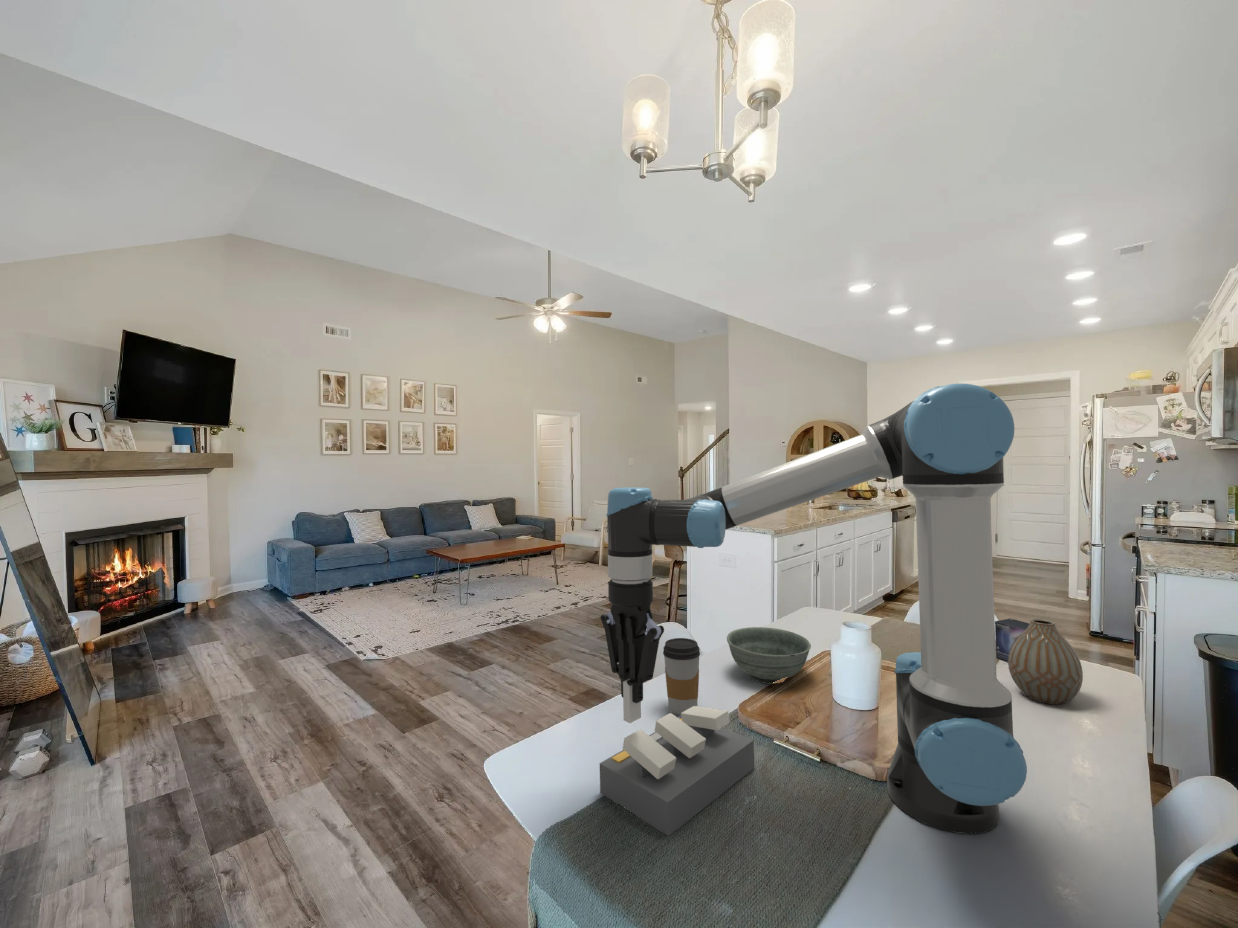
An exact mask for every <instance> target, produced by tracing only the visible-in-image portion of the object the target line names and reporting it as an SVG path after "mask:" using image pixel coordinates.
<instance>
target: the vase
mask: <svg viewBox="0 0 1238 928" xmlns="http://www.w3.org/2000/svg"><path fill="white" fill-rule="evenodd" d="M1029 621H1030V622H1029V626H1028V627H1027V629H1026V630H1024V631H1023V632H1022V633H1021V634H1020V635H1019V636H1018V637H1017V638H1016V640H1015V641H1014V642H1013V644H1012V646H1011V648H1010V651H1009V656H1008V662H1007V664H1008V671H1009V674H1010V677H1011V679H1012V680H1013V683H1014V684H1015V685H1016V686H1017V687H1018V689H1019V690H1020V691H1021V692H1022V693H1024V694H1025V696H1027V697H1028V698H1029V699H1031V700H1033V701H1037V702H1039V703H1042V704H1046V705H1048V704H1049V705H1056V706H1057V705H1063V704H1065V703H1067V702H1070V701H1071V700H1072V699H1074V698H1075V697H1076V696H1077V695H1078V694H1079V692H1080V690H1081V688H1082V686H1083V680H1084V679H1083V678H1084V674H1083V673H1084V672H1083V666H1082V662H1081V660H1080V658H1079V655H1078V653H1077V652H1076V651H1075V649H1074V648H1073V646H1072V645H1071V644H1070V643H1069V641H1068V640H1067V639H1066V638H1065V637H1064V636H1063V635H1062V634H1061V633H1060V631H1059V630H1058V628H1057V626H1056V623H1055V621H1052V620H1049V619H1043V618H1031V619H1030V620H1029Z"/></svg>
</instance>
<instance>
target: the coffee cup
mask: <svg viewBox="0 0 1238 928" xmlns="http://www.w3.org/2000/svg"><path fill="white" fill-rule="evenodd" d="M698 645H699V644H698V642H697V641H696V640H695V639H692V638H685V637H675V638H670V639H668V640H666V641H665V642H664V646H663V653H662V655H663V656H664V672H665V673H664V675H665V683H666V694H667V700H668V701H667V702H668V709H669V710H670V713H672V714H673V715H674V716H679V717H681V713H682V712H684V711H686V710H688V709H689V708H691V707H693V706H698V702H699V701H698V699H699V687H700V685H699V684H700V683H699V682H700V655H701V651H700V649H701V648H700V647H699V646H698Z"/></svg>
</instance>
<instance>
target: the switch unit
mask: <svg viewBox="0 0 1238 928" xmlns="http://www.w3.org/2000/svg"><path fill="white" fill-rule="evenodd" d="M678 719H680V720H681V721H682V717H681V716H680V717H678ZM688 726H689V727H691V728H692V729H693V730H695V731H696V732H697V733H699V734H700V735H702V736H703V737H704V738H706V741H705V746H704V749H703V750H702V751H700V752H699V753H697V754H696V755H694V756H693V757H691V758H688V757H687V756H686V755H684V754H683V753H682V752H681V751H679V750H678V749H677V748H676V747H674V746H673V745H672V744H670V743H669V742H668V741H667V740H665V739H664V738H663V737H662V736H660V735H659V734H658V733H657V732H655V731H654V732H653V733H650V734H648V735H649V736H650V737H651V738H652V739H654V740H655V741H656V742H657V743H659V744H660V745H661V746H662V747H664V748H665V749H666V750H667V751H669V752H670V753H671V754H672V755H674V756H675V757H676V762H675V768H674V769H673V770H672V771H670V772H669V773H667V774H666V775H664V776H663V777H661V778H660V779H657V778H656V777H654V776H653V775H652V774H651V773H650V772H649V771H648V770H646V769H645V768H644V767H643V766H642V765H641V764H639V763H638V762H637V761H636V760H635V759H634V758H633V757H631V756H630V755H629V754H628V753H627V752H626V751H625V750H623V749H622V750H620V751H619V752H617V753H615V754H614V755H611V756H610V757H608V758H607V759H605V760H603V761H601V762H599V789H600V790H599V794H601V795H603V796H604V797H606V798H607V799H609V800H610V799H611V801H612V802H614V801H615V802H614V803H615V804H617V805H618V804H620V805H621V806H623V807H625V808H626V809H628V810H629V811H631V812H632V813H633V815H634V814H635V815H634V816H636V817H637V818H639V819H640V818H641V820H642V821H644V822H645V823H647V824H648V825H650V826H651V827H653V828H655V829H656V830H658V831H659V832H661V833H662V834H664V835H666V836H667V837H669V836H671V835H672V834H673V833H675V832H676V831H678V829H680V828H682V826H683V825H685V824H687V822H689V821H690V820H691V819H692V818H694V817H695V816H696V815H697V814H698V813H700V812H701V811H702V810H703V809H705V808H706V807H708V806H709V805H710V804H711V803H713V802H714V801H715V800H716V799H718V798H719V797H720V796H721V795H722V794H724V793H725V792H727V791H728V790H729V789H730V788H731V787H732V786H734V785H735V784H736V783H737V782H739V781H740V780H741V779H742V778H744V777H745V776H746V775H748V774H750V772H751V771H752V770H754V769H755V746H754V745H755V744H754V743H755V741H754V739H752V738H749V737H746V736H744V735H742V734H740V733H737V732H734V731H732V730H729V729H727V728H725V727H722V728H720V729H719V730H712V729H707V728H701V727H695V726H690V725H688ZM620 805H619V806H620ZM621 806H620V807H621ZM623 807H622V808H623ZM625 808H624V809H625ZM626 809H625V810H626ZM628 810H627V811H628ZM629 811H628V812H629ZM631 812H630V813H631ZM632 813H631V814H632Z"/></svg>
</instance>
